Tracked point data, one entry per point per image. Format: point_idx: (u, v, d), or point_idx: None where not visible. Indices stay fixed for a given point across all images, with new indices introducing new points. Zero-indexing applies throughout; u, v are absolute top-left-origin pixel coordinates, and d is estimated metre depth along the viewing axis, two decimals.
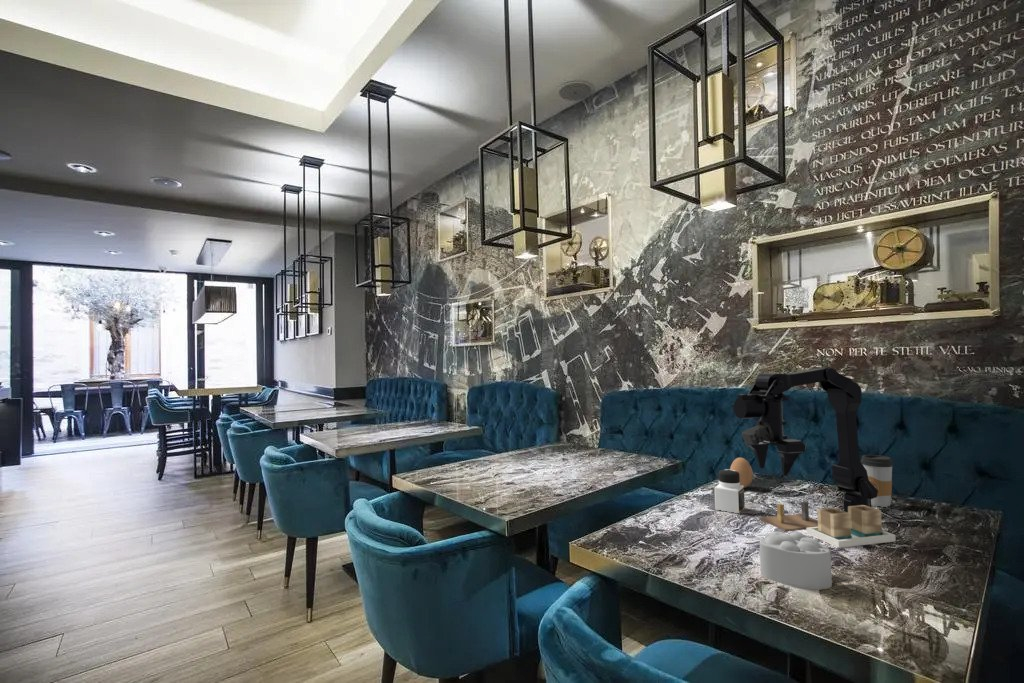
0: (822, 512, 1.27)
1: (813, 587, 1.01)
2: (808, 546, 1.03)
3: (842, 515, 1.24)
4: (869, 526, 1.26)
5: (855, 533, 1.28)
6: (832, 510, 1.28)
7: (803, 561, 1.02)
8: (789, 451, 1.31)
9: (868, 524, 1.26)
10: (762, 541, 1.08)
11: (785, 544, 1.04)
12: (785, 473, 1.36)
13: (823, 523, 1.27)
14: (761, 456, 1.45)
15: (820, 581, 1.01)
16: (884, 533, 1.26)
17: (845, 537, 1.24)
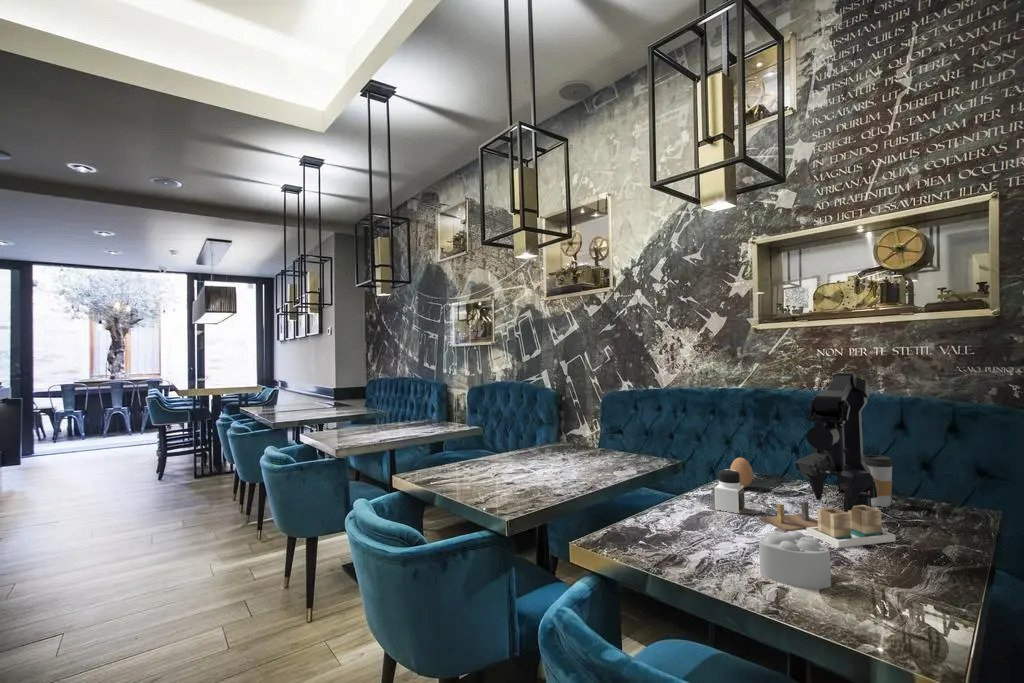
0: (822, 512, 1.27)
1: (813, 586, 1.01)
2: (808, 546, 1.03)
3: (842, 515, 1.24)
4: (869, 526, 1.26)
5: (855, 533, 1.28)
6: (832, 510, 1.28)
7: (803, 560, 1.02)
8: (856, 484, 1.17)
9: (868, 524, 1.26)
10: (762, 541, 1.09)
11: (785, 544, 1.04)
12: (849, 508, 1.22)
13: (823, 523, 1.27)
14: (818, 487, 1.32)
15: (819, 580, 1.01)
16: (884, 533, 1.26)
17: (845, 537, 1.24)
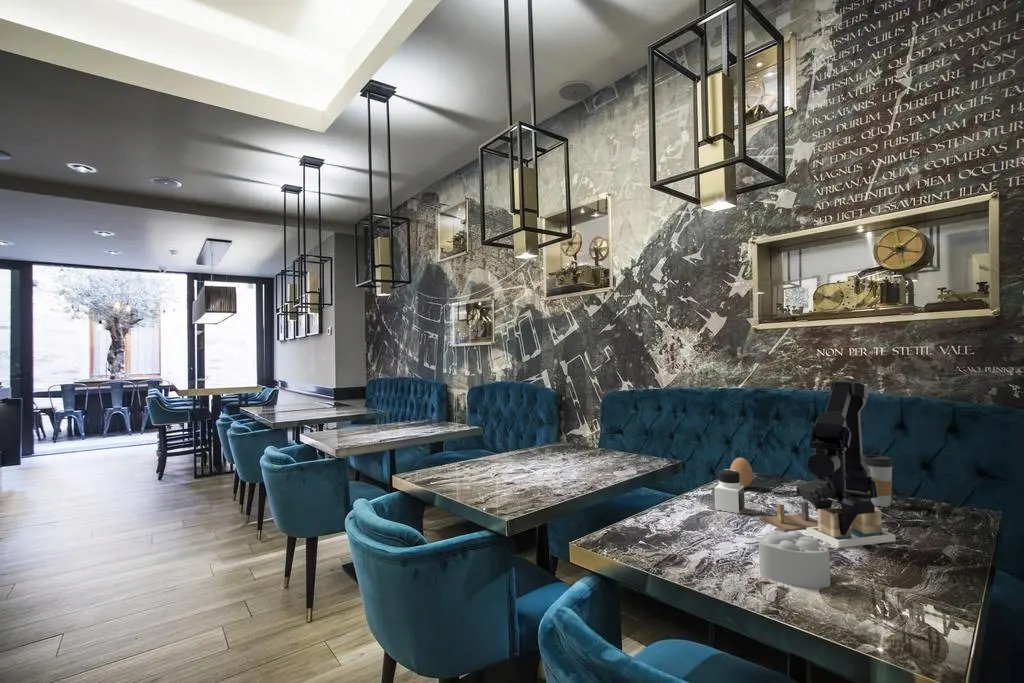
0: (822, 512, 1.27)
1: (812, 586, 1.02)
2: (807, 545, 1.04)
3: None
4: (869, 526, 1.26)
5: (855, 533, 1.28)
6: (832, 510, 1.28)
7: (803, 560, 1.02)
8: (857, 513, 1.17)
9: (868, 524, 1.26)
10: (761, 540, 1.09)
11: (784, 543, 1.05)
12: (843, 533, 1.23)
13: (823, 523, 1.27)
14: None
15: (819, 580, 1.02)
16: (884, 533, 1.26)
17: (845, 537, 1.24)
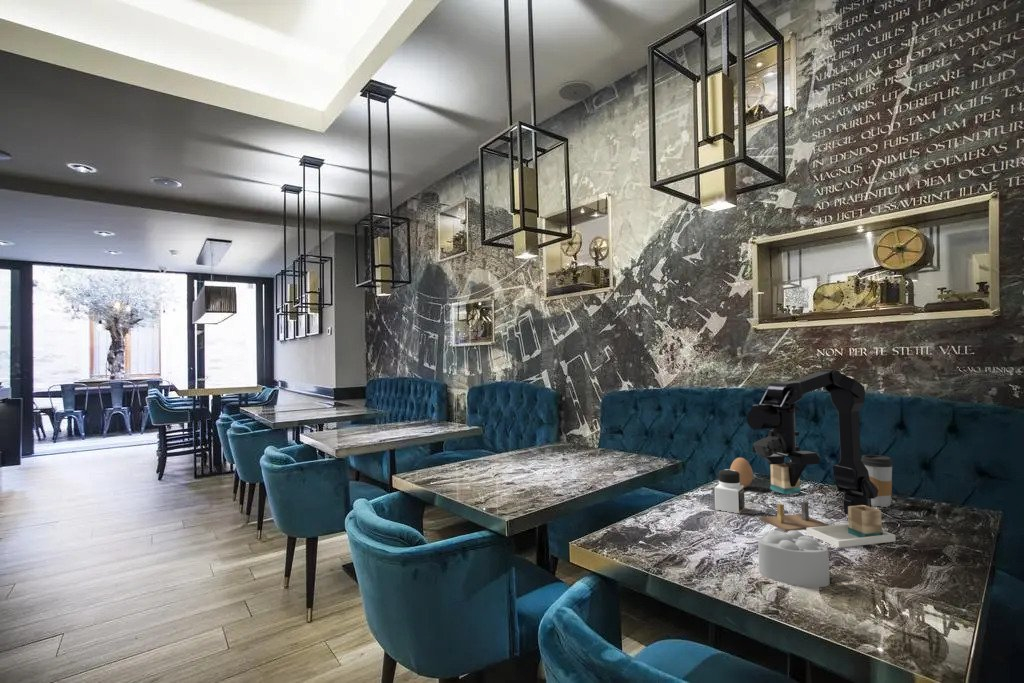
0: (774, 466, 1.37)
1: (812, 585, 1.02)
2: (806, 544, 1.04)
3: None
4: (869, 526, 1.26)
5: (855, 533, 1.28)
6: (784, 465, 1.39)
7: (802, 559, 1.02)
8: (803, 463, 1.28)
9: (868, 524, 1.26)
10: (761, 540, 1.09)
11: (784, 543, 1.05)
12: (793, 484, 1.34)
13: (775, 476, 1.37)
14: None
15: (818, 579, 1.02)
16: (884, 533, 1.26)
17: (794, 488, 1.35)
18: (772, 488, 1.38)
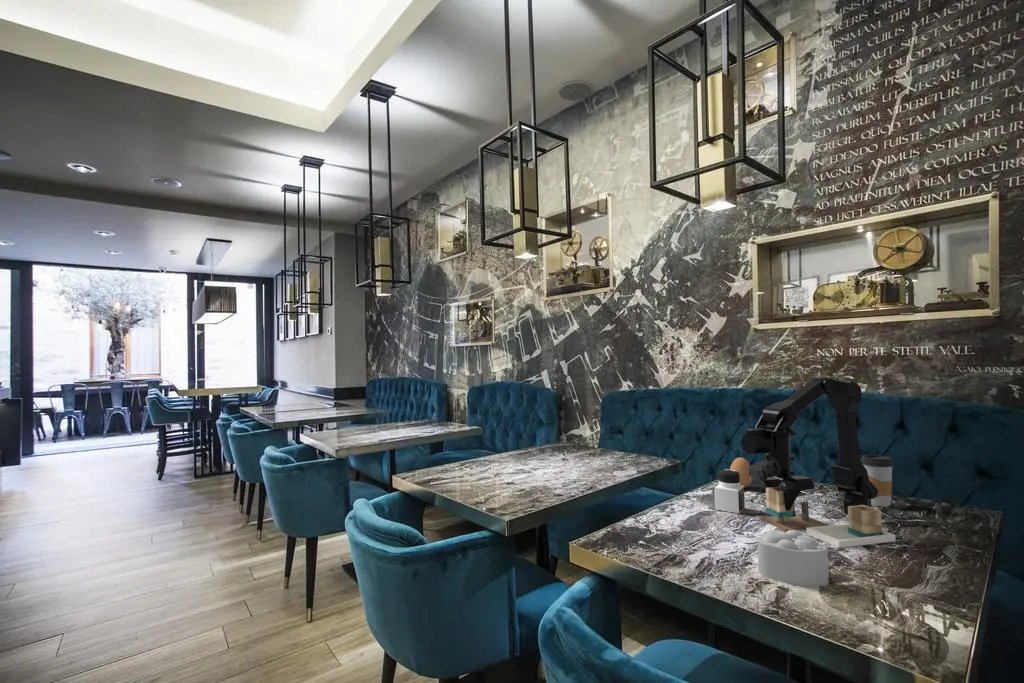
0: (769, 490, 1.39)
1: (811, 584, 1.02)
2: (806, 544, 1.04)
3: None
4: (869, 526, 1.26)
5: (855, 533, 1.28)
6: (779, 488, 1.40)
7: (802, 558, 1.03)
8: (797, 489, 1.29)
9: (868, 524, 1.26)
10: (760, 540, 1.09)
11: (783, 542, 1.05)
12: (787, 508, 1.35)
13: (770, 500, 1.38)
14: None
15: (817, 578, 1.02)
16: (884, 533, 1.26)
17: (789, 512, 1.36)
18: (768, 512, 1.39)
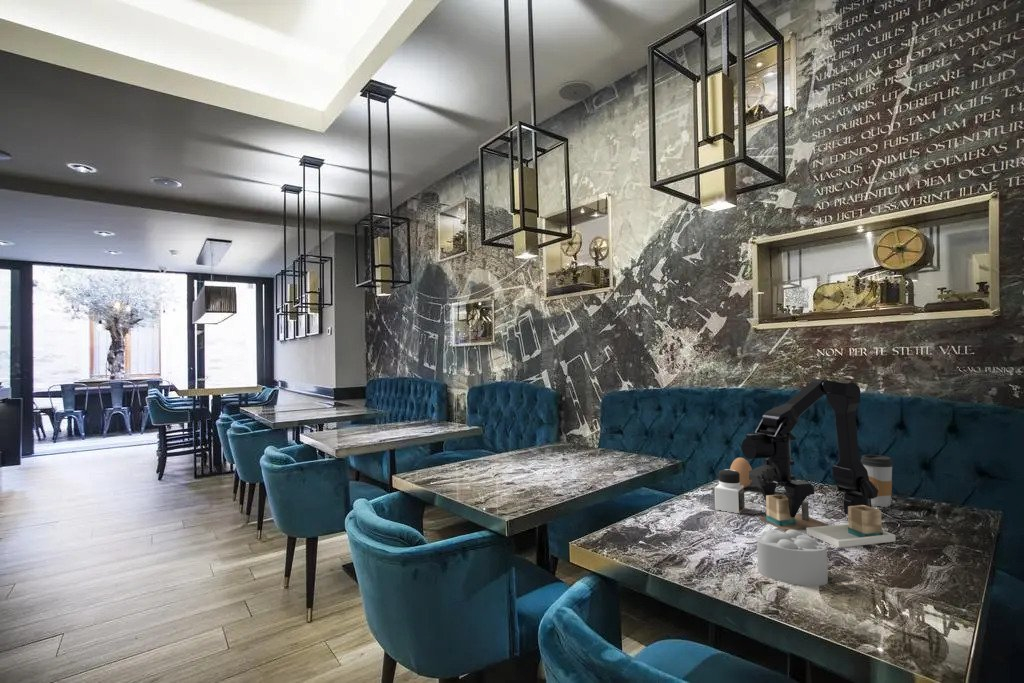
0: (770, 498, 1.39)
1: (810, 584, 1.03)
2: (805, 543, 1.05)
3: (787, 500, 1.36)
4: (869, 526, 1.26)
5: (855, 533, 1.28)
6: (779, 496, 1.40)
7: (801, 558, 1.03)
8: (797, 494, 1.29)
9: (868, 524, 1.26)
10: (760, 539, 1.10)
11: (783, 542, 1.05)
12: (792, 515, 1.34)
13: (770, 508, 1.38)
14: None
15: (817, 578, 1.03)
16: (884, 533, 1.26)
17: (790, 520, 1.36)
18: (768, 520, 1.39)
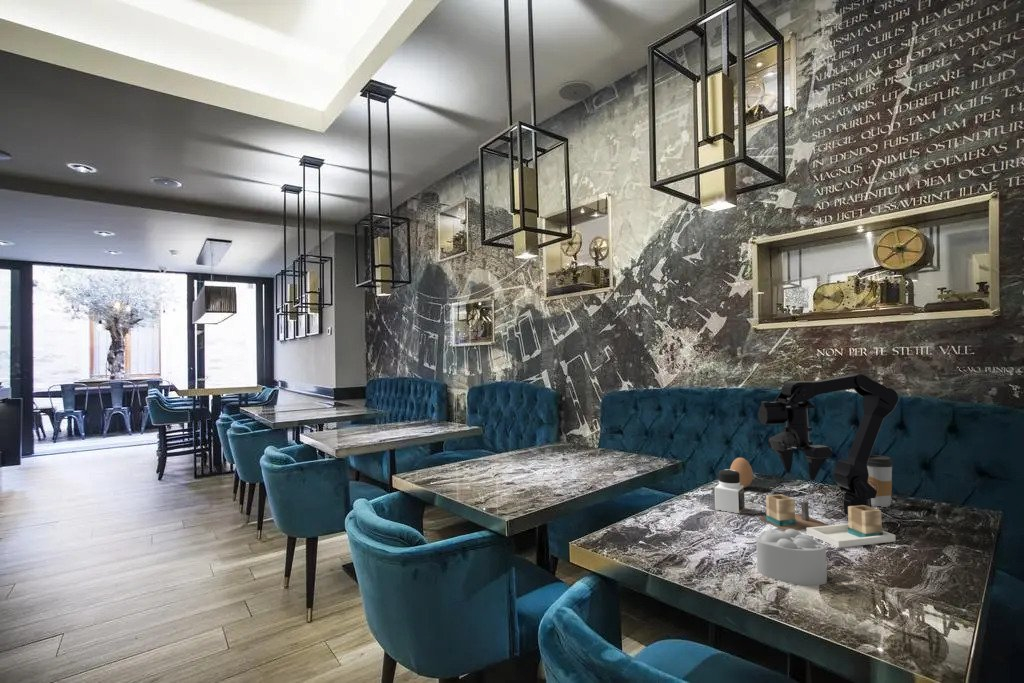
0: (770, 498, 1.39)
1: (810, 583, 1.03)
2: (804, 543, 1.05)
3: (787, 500, 1.36)
4: (869, 526, 1.26)
5: (855, 533, 1.28)
6: (779, 496, 1.40)
7: (801, 557, 1.03)
8: (817, 457, 1.37)
9: (868, 524, 1.26)
10: (759, 539, 1.10)
11: (782, 541, 1.06)
12: (812, 478, 1.42)
13: (770, 508, 1.38)
14: (787, 461, 1.51)
15: (816, 577, 1.03)
16: (884, 533, 1.26)
17: (790, 520, 1.36)
18: (768, 520, 1.39)
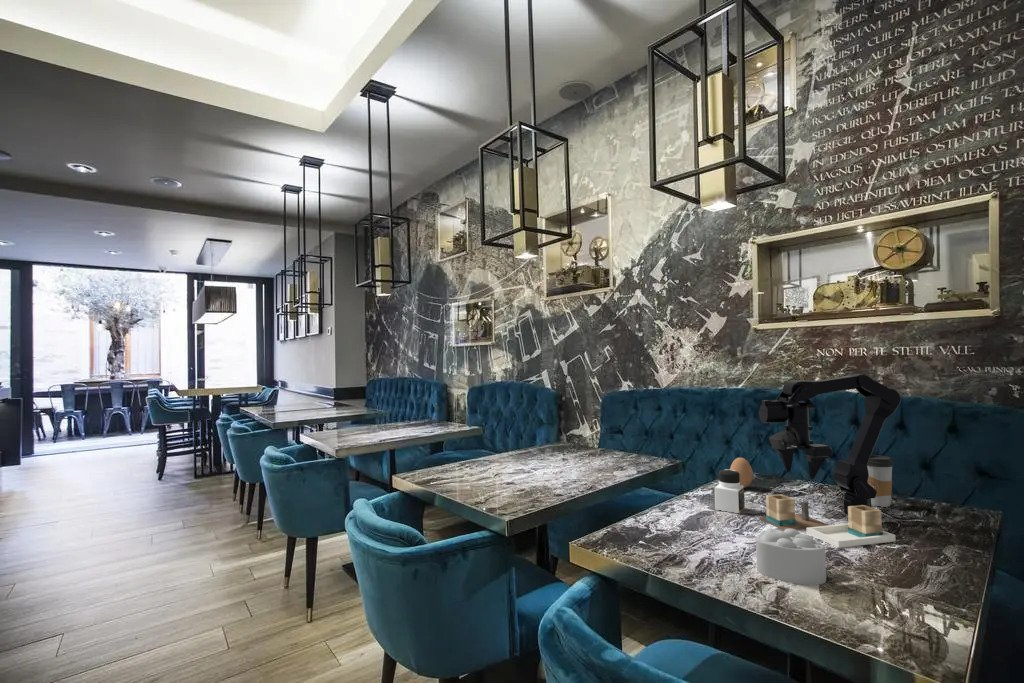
0: (770, 498, 1.39)
1: (809, 583, 1.03)
2: (804, 542, 1.05)
3: (787, 500, 1.36)
4: (869, 526, 1.26)
5: (855, 533, 1.28)
6: (779, 496, 1.40)
7: (800, 557, 1.04)
8: (817, 455, 1.37)
9: (868, 524, 1.26)
10: (758, 539, 1.10)
11: (782, 541, 1.06)
12: (812, 477, 1.42)
13: (770, 508, 1.38)
14: (787, 460, 1.52)
15: (816, 576, 1.03)
16: (884, 533, 1.26)
17: (790, 520, 1.36)
18: (768, 520, 1.39)
